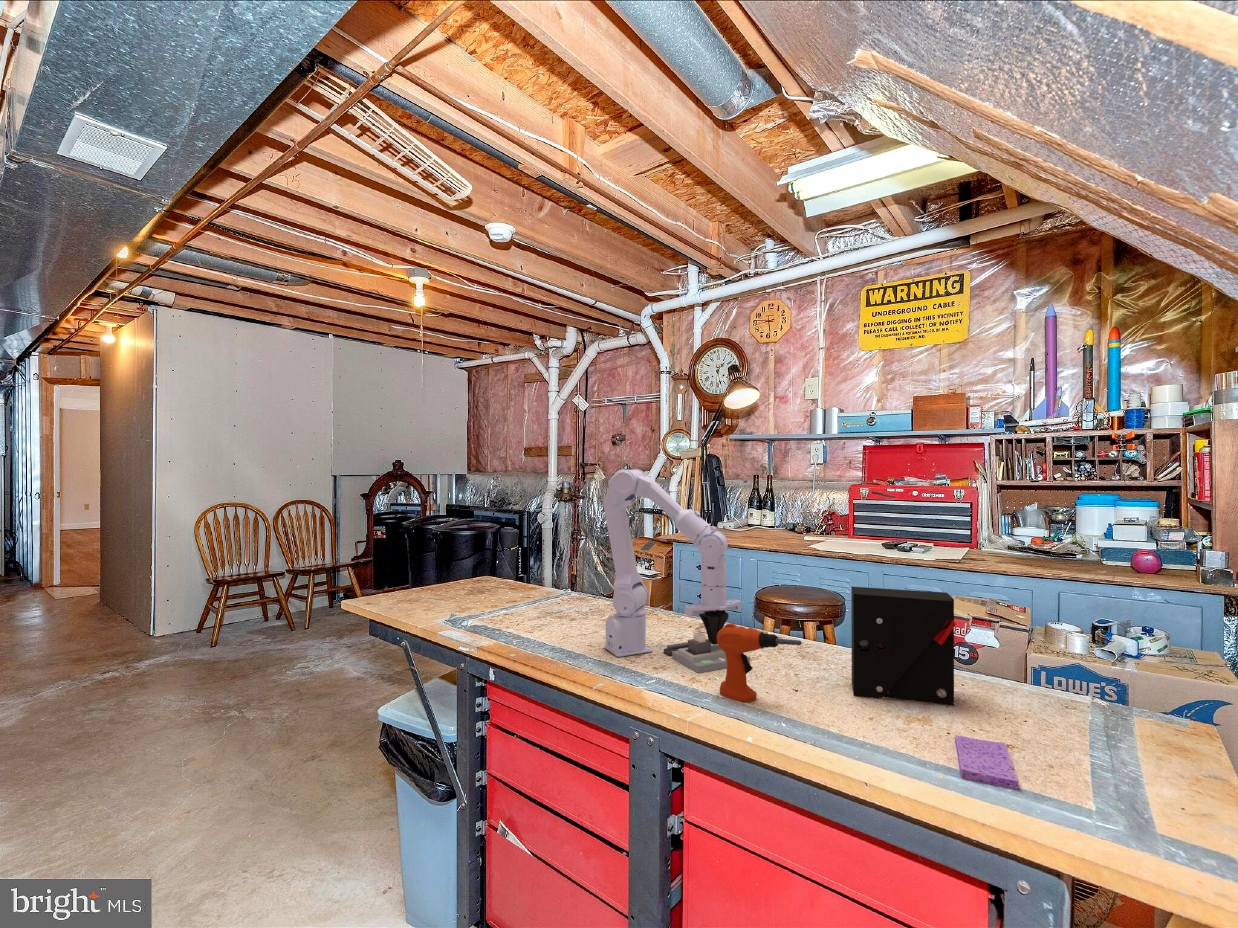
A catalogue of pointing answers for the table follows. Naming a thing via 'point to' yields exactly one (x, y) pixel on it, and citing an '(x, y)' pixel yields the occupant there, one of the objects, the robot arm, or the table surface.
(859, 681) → the electrical component
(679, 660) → the breaker panel
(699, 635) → the breaker slider
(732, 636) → the toy drill
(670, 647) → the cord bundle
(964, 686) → the table surface
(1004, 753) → the sponges
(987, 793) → the table surface
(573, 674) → the table surface
